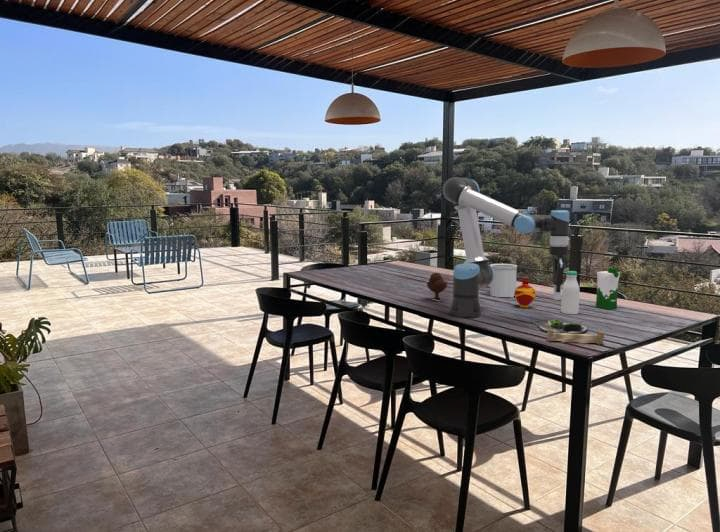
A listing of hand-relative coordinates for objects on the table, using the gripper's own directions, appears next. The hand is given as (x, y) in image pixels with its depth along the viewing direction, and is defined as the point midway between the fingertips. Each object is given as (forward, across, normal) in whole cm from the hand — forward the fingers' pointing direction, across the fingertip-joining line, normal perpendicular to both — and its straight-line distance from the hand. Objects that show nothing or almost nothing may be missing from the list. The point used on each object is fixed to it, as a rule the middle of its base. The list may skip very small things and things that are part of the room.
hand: (557, 299), depth 220 cm
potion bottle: (+10, +29, +10) cm, 32 cm away
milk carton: (+10, +35, -30) cm, 48 cm away
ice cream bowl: (+9, +38, +54) cm, 66 cm away
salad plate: (+10, -18, 0) cm, 21 cm away
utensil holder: (+9, +59, +18) cm, 63 cm away
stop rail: (+10, -36, 0) cm, 37 cm away
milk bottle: (+10, +18, -10) cm, 23 cm away
